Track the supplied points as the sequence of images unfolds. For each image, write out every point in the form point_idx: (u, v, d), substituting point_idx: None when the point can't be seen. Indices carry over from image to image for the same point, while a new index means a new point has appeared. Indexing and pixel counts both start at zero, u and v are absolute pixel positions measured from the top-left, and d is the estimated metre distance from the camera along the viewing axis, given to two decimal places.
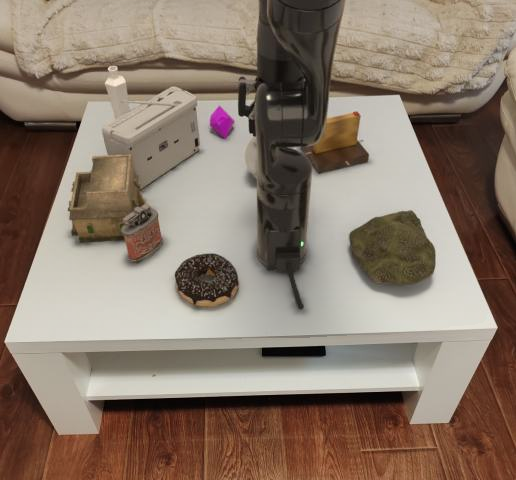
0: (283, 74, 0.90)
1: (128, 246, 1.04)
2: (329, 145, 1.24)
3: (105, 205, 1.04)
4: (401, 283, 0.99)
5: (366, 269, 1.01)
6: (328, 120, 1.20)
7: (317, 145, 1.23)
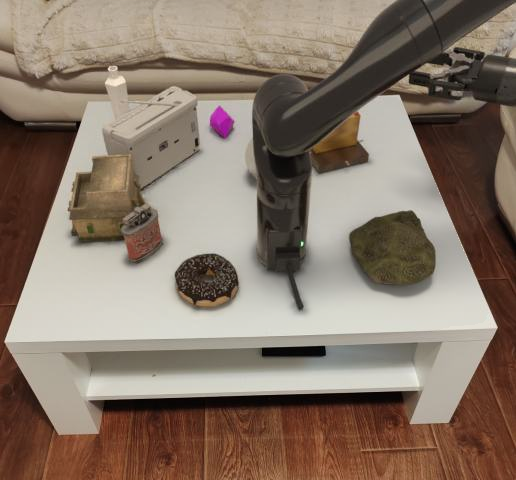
0: (495, 58, 0.98)
1: (128, 246, 1.04)
2: (329, 145, 1.24)
3: (105, 205, 1.04)
4: (401, 283, 0.99)
5: (366, 269, 1.01)
6: None
7: (317, 145, 1.23)
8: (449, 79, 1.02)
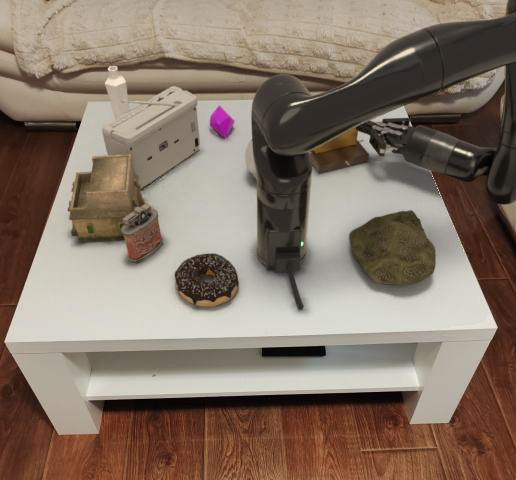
0: (423, 130, 1.14)
1: (128, 246, 1.04)
2: (329, 145, 1.24)
3: (105, 205, 1.04)
4: (401, 283, 0.99)
5: (366, 269, 1.01)
6: None
7: None
8: (385, 141, 1.18)
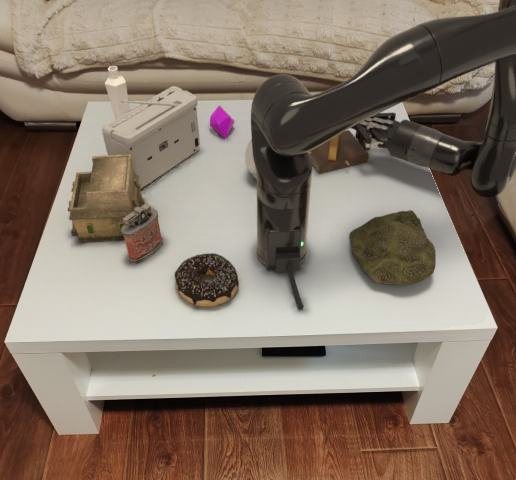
0: (408, 124, 1.15)
1: (128, 246, 1.04)
2: None
3: (105, 205, 1.04)
4: (401, 283, 0.99)
5: (366, 269, 1.01)
6: None
7: (336, 151, 1.21)
8: (371, 136, 1.19)
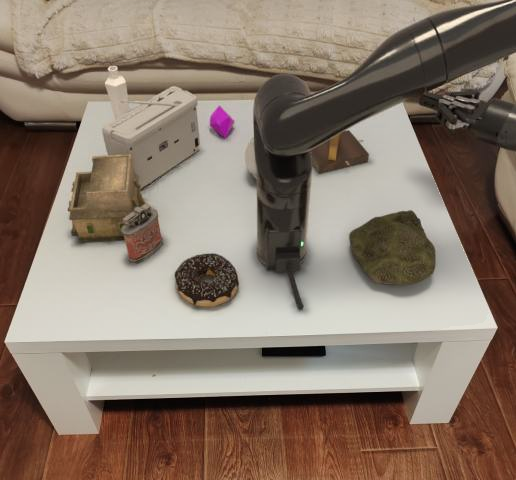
0: (500, 103, 1.02)
1: (128, 246, 1.04)
2: None
3: (105, 205, 1.04)
4: (401, 283, 0.99)
5: (366, 269, 1.01)
6: None
7: (336, 151, 1.21)
8: None
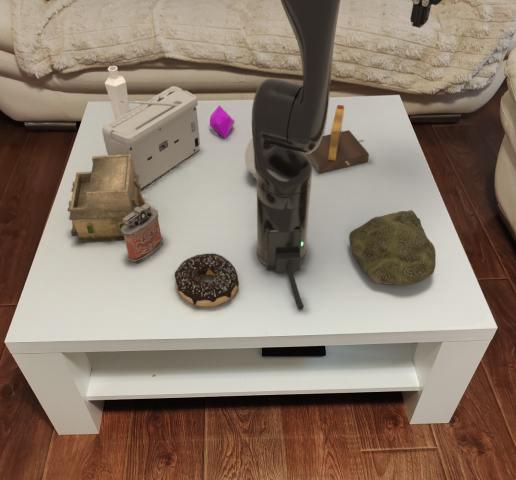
0: None
1: (128, 246, 1.04)
2: None
3: (105, 205, 1.04)
4: (401, 283, 0.99)
5: (366, 269, 1.01)
6: (337, 124, 1.19)
7: (336, 151, 1.21)
8: None
